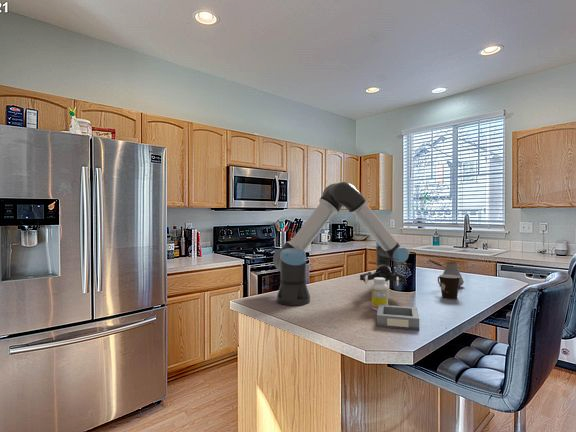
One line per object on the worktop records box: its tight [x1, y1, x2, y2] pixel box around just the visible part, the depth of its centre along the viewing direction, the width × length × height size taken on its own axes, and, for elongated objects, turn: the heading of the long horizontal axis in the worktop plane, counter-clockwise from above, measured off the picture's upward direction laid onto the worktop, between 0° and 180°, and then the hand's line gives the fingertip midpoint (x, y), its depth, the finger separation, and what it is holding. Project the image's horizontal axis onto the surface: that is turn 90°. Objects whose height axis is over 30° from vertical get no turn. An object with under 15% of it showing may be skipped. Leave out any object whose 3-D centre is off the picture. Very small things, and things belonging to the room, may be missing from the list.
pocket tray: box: [376, 304, 420, 331], centre depth 123 cm, size 14×14×4 cm
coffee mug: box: [437, 274, 460, 300], centre depth 159 cm, size 12×9×10 cm
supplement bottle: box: [370, 277, 389, 312], centre depth 139 cm, size 7×7×13 cm
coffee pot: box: [427, 259, 465, 288], centre depth 179 cm, size 21×12×15 cm, turn 109°
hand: (381, 281), depth 149 cm, fingers open, 13 cm apart
